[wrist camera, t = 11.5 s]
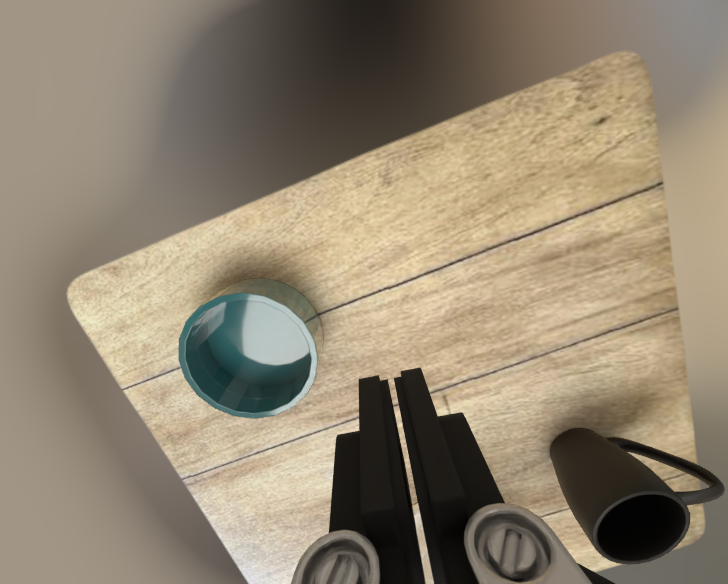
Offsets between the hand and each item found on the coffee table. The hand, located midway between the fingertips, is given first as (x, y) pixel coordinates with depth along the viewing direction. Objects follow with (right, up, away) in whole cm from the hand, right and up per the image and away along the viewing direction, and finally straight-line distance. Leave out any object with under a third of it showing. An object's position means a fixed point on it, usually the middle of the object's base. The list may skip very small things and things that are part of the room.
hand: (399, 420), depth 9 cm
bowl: (-11, -1, +25) cm, 27 cm away
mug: (+24, -13, +29) cm, 40 cm away
